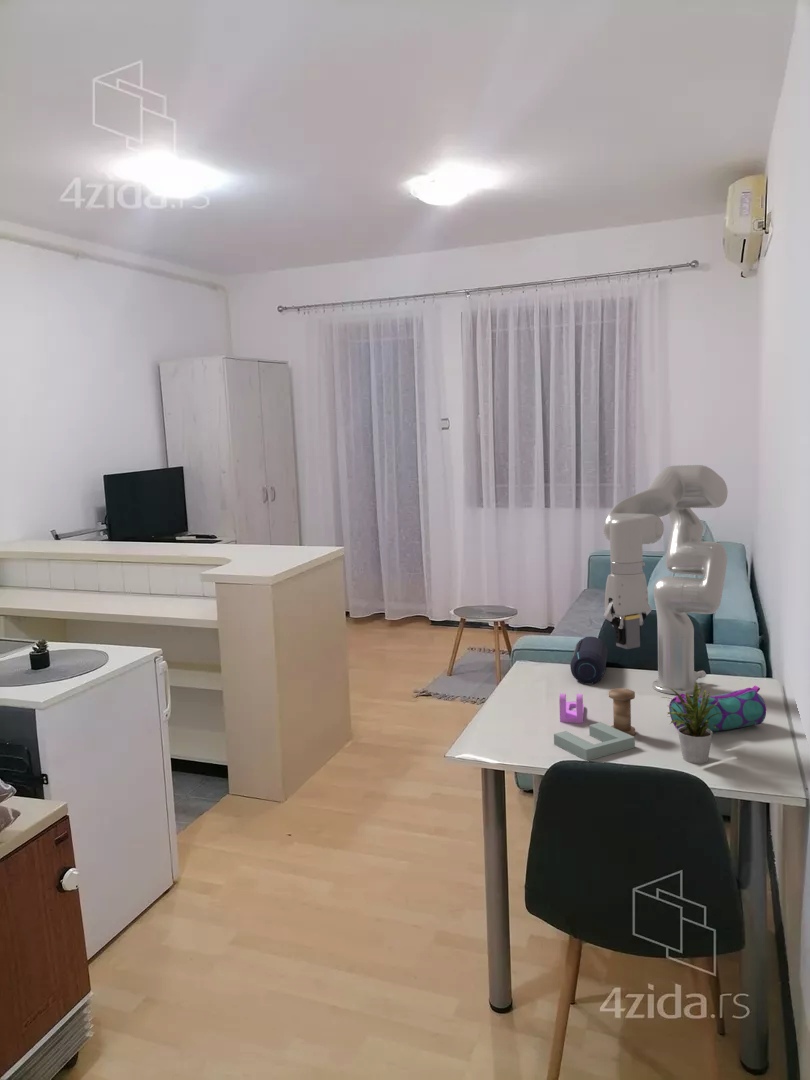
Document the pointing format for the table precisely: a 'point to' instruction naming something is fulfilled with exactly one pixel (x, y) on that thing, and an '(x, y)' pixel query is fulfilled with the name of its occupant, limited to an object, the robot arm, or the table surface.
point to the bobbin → (622, 710)
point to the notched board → (587, 751)
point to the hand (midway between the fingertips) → (628, 641)
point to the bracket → (567, 714)
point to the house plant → (694, 727)
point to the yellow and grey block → (631, 631)
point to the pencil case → (728, 709)
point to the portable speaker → (589, 660)
